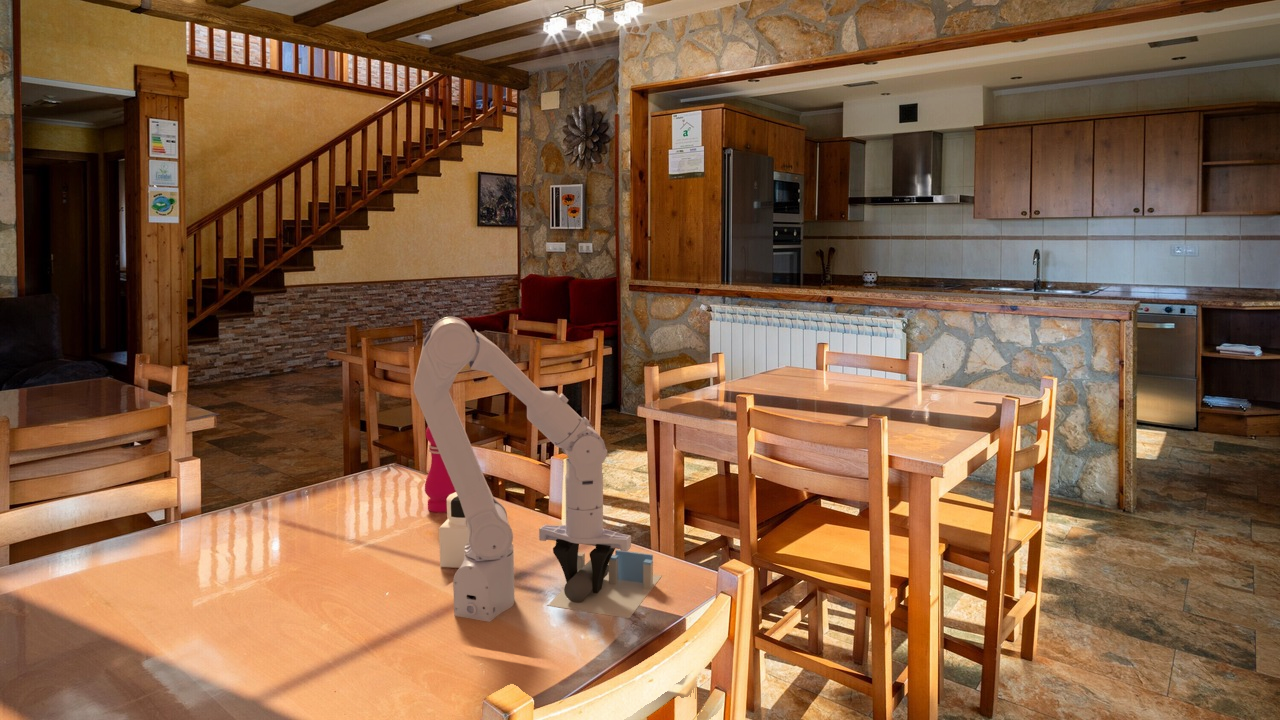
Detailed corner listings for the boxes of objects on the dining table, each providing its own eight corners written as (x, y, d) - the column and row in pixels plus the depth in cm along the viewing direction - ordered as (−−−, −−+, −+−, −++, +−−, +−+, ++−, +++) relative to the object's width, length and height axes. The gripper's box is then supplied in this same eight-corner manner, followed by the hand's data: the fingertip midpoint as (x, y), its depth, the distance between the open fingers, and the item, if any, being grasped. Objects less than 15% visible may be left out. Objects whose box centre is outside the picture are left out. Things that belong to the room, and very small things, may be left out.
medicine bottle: (492, 553, 146) (490, 488, 144) (480, 569, 139) (478, 500, 137) (453, 551, 146) (451, 486, 145) (439, 567, 139) (437, 499, 138)
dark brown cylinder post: (586, 604, 124) (586, 581, 123) (564, 600, 125) (564, 578, 124) (609, 579, 133) (609, 558, 132) (588, 576, 134) (588, 555, 133)
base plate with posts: (629, 623, 119) (629, 586, 119) (547, 610, 123) (547, 574, 123) (661, 580, 134) (662, 547, 134) (588, 570, 138) (587, 538, 138)
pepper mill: (417, 510, 169) (414, 414, 166) (441, 500, 175) (438, 408, 172) (445, 515, 165) (441, 418, 162) (468, 505, 172) (465, 411, 169)
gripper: (637, 501, 127) (637, 584, 129) (552, 492, 132) (553, 572, 134) (622, 515, 121) (622, 603, 123) (532, 505, 125) (534, 590, 127)
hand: (584, 588), depth 128 cm, fingers closed on dark brown cylinder post, 4 cm apart
